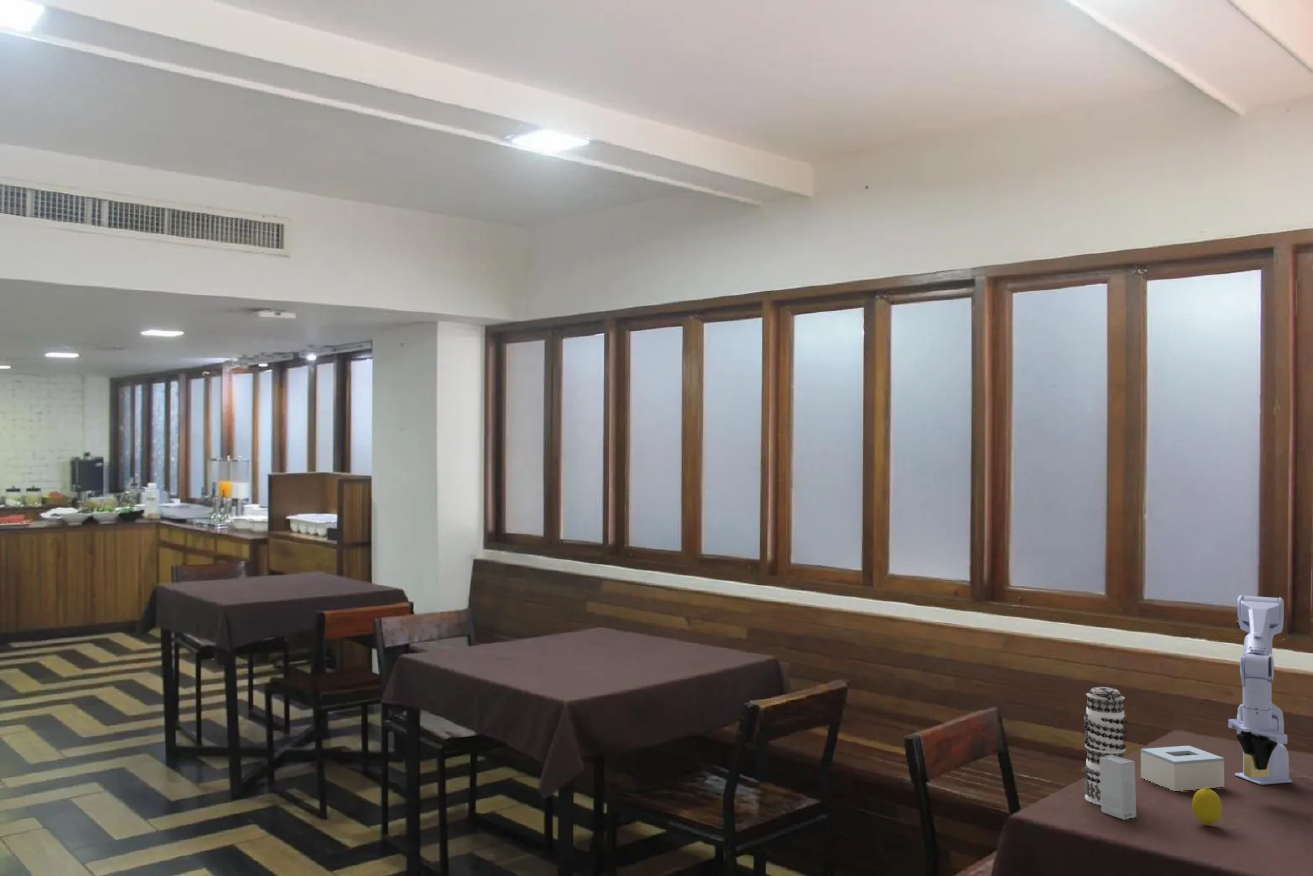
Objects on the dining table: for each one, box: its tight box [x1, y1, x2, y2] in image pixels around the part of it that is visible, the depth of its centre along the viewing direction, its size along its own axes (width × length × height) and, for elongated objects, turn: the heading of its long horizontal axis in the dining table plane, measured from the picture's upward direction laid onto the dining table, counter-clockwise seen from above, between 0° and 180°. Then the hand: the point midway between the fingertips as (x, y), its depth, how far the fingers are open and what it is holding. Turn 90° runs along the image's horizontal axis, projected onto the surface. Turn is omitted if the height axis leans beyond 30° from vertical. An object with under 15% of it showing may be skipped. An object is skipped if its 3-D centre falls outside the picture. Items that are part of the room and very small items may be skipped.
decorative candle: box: [1083, 686, 1129, 806], centre depth 234 cm, size 9×9×25 cm
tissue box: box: [1140, 745, 1225, 792], centre depth 248 cm, size 14×11×7 cm
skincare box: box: [1100, 755, 1137, 821], centre depth 224 cm, size 6×4×12 cm
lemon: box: [1191, 787, 1223, 827], centre depth 218 cm, size 6×6×8 cm
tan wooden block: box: [1244, 752, 1269, 778], centre depth 235 cm, size 5×2×5 cm, turn 105°
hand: (1257, 767), depth 235 cm, fingers closed on tan wooden block, 2 cm apart
